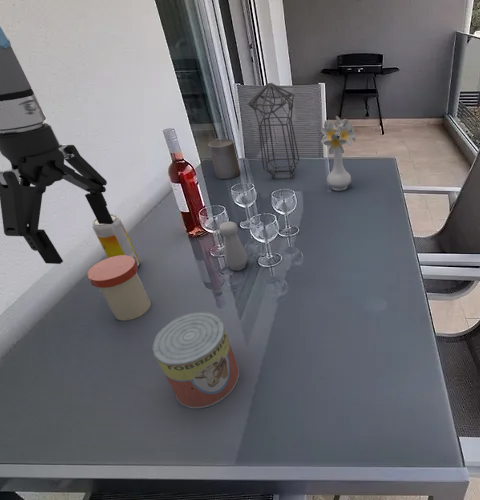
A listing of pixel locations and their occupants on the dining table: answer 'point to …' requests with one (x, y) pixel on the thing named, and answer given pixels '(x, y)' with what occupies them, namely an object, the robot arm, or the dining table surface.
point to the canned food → (197, 359)
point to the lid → (112, 271)
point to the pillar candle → (224, 158)
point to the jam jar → (127, 299)
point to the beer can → (114, 238)
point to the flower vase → (338, 151)
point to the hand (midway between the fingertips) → (82, 241)
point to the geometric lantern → (251, 104)
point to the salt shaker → (233, 247)
